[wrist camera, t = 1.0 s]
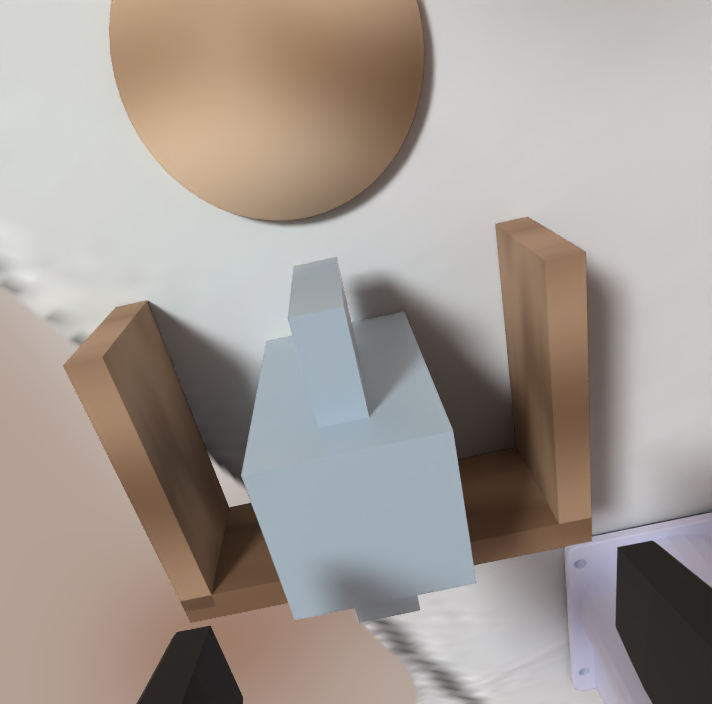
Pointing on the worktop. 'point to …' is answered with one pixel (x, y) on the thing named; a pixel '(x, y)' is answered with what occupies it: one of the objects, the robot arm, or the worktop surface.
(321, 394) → the pale blue stepped block
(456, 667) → the worktop surface
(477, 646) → the worktop surface
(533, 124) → the worktop surface
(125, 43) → the coaster
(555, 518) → the cradle
